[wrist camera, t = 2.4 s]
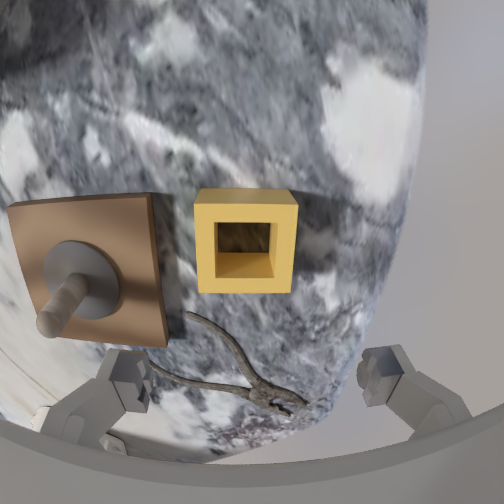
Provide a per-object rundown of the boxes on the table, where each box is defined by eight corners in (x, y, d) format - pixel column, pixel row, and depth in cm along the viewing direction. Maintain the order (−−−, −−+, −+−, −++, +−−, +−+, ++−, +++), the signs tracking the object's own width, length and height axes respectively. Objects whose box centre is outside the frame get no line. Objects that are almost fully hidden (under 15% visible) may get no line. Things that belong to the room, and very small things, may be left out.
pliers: (169, 305, 26) (342, 373, 31) (171, 299, 26) (340, 368, 31) (138, 367, 29) (292, 418, 34) (139, 362, 30) (291, 413, 35)
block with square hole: (282, 266, 25) (290, 292, 21) (203, 265, 24) (198, 292, 21) (288, 189, 22) (298, 204, 19) (201, 188, 22) (193, 203, 18)
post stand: (169, 337, 28) (153, 408, 20) (51, 326, 27) (16, 381, 19) (151, 192, 22) (109, 236, 14) (15, 202, 21) (-46, 240, 13)
